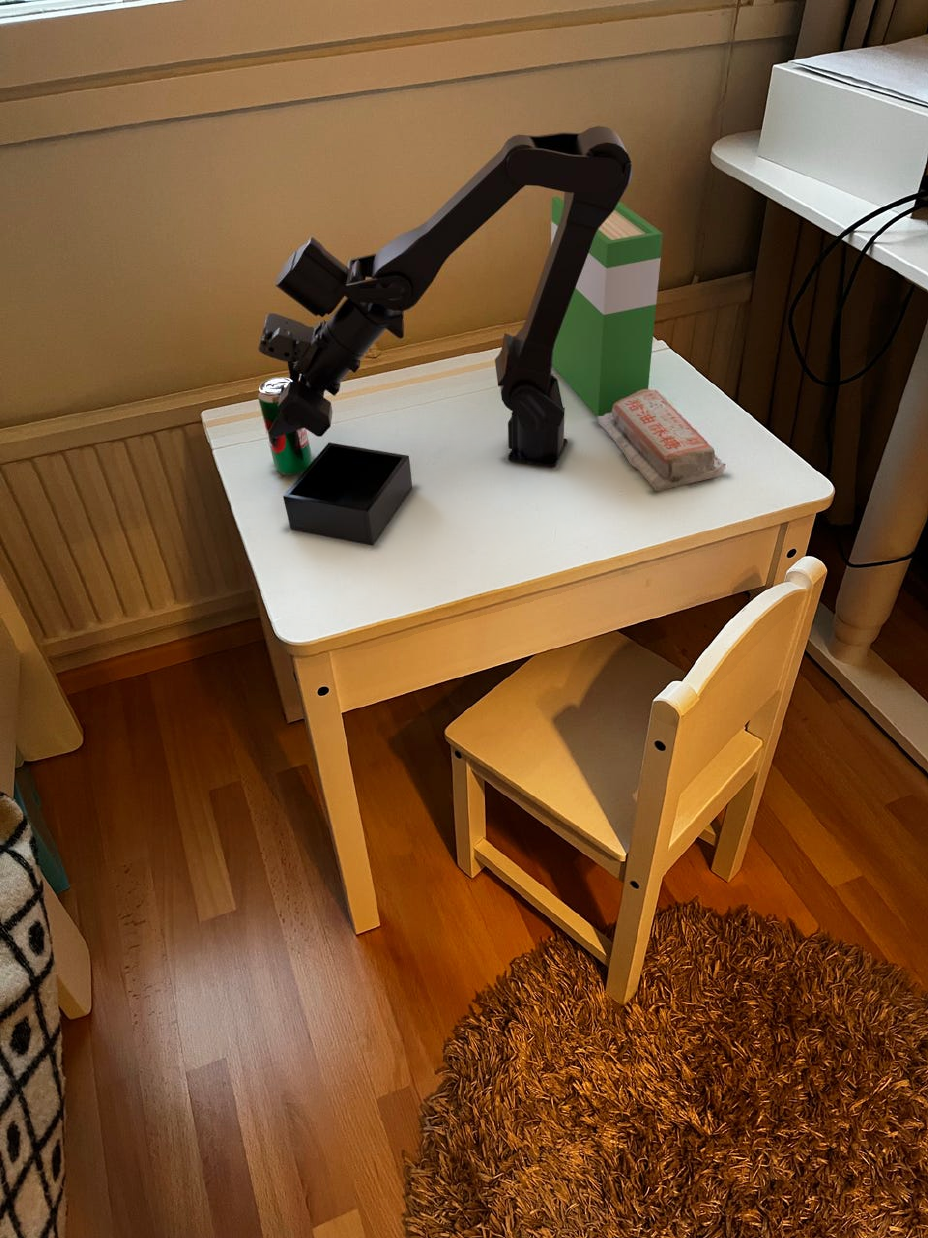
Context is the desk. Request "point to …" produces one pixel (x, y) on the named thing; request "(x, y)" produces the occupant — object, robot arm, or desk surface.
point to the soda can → (289, 448)
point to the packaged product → (660, 441)
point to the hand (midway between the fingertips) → (274, 424)
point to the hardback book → (611, 311)
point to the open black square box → (349, 493)
